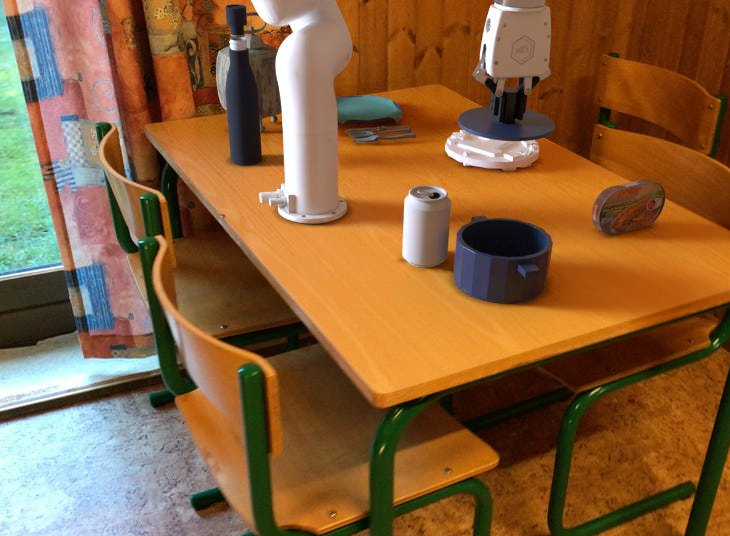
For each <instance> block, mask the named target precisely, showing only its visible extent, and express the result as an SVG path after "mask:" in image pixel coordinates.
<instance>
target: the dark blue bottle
mask: <svg viewBox="0 0 730 536" xmlns="http://www.w3.org/2000/svg"><path fill="white" fill-rule="evenodd" d="M224 9H225V22H226V23H225V24H226V26H228V27H229V28H230V38H229V42H228V43H229V47H231V48H230V49H229V58H230V66H229V70H228V74H227V78H226V88H225V95H226V107H227V111H226V119H227V131H228V142H229V151H230V152H229V156H230V162H231V163H233V164H234V165H237V166H243V167H247V166H249V167H250V166H254V165H258V164H260V163H261V162H262V161H263V153H262V152H263V151H262V137H261V135H262V133H261V132H260V117H259V100H258V88H257V83H256V80H255V76H254V74H253V71H252V68H251V66H250V63H249V50H248V48H246V47H247V44H246V43H247V41H246V38H244V37H245V36H246V34H245V33H244V30H245V26H247V25H248V16H247V14H246V13H247V6H246V5H245V4H238V3H237V4H235V3H234V4H233V3H231V4H228V5H226V6H225V7H224Z"/></svg>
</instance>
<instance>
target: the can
mask: <svg viewBox="0 0 730 536" xmlns="http://www.w3.org/2000/svg"><path fill="white" fill-rule="evenodd" d="M403 202H404V203H403V204H404V205H403V225H402V226H403V227H402V228H403V229H402V231H403V232H402V249H401V250H402V251H401V252H402V254H401V255H402V258H403V259H404V260H405V261H407V263H408V264H410V266H411V265H412V266H413V267H417V268H422V269H423V268H424V269H426V268H427V269H429V268H434V267H437V266H439V265H441V264H442V263H443V262H446V260H447V259H448V253H449V240H450V239H449V238H450V226H451V213H452V200H451V199H450V198H449V192H448V191H447V189H445V188H443V187H441V186H438V185H433V184H422V185H421V184H420V185H416V186H413V187H411V188H410V189H409V190H408V194H407V196H406V197H405V198H404V201H403Z"/></svg>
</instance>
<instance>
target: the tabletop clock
mask: <svg viewBox="0 0 730 536" xmlns="http://www.w3.org/2000/svg"><path fill="white" fill-rule="evenodd" d="M246 14H247V17H252V16H254V17H260V16H259V14H258V13H257V11H250V12H249V11H248V12H246ZM260 18H261V17H260ZM266 27H267V23H266V22H265V21H264V20H263V25H262V26H261V27H259V28H257V29H255V27H254V26H253V25H250V26H249V27H248V30H247V29H246V30H245V29H244V34H245V36H244V37H243V38H246V41H247V43H246V44H247V47H246V48H248V50H249V63H250V66H251V68H252V71H253V74H254V76H255V80H256V83H257V88H258V100H259V117H260V134H263V133H265V132H266V130H267V129H266V126H265V125H263V119H267V118H270V122H272V123H277V122H278V120H279V118H278V115H280V114H281V115H282V106H281V97H280V90H279V85H278V80H277V75H276V57H277V53H278V50H279V48H276V47H274V46H273V45H270V44H267V43H265V41H264V39H263V38H262V37H261V36H260V35H258V34H257V33H260V32H261V31H264V29H265V28H266ZM230 48H231V47H230V46H226V47H223V48H222V49H220V50H219V51H218V52H217V53H218V54H217V56H216V64H215V69H216V70H215V73H216V74H215V76H216V77H215V78H216V88H217V94H218V98H219V102H220V104H221V106H222V109H224V110H225V111H226V112H227V107H226V95H225V88H226V78H227V74H228V70H229V66H230V58H229V49H230Z"/></svg>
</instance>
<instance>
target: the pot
mask: <svg viewBox="0 0 730 536" xmlns="http://www.w3.org/2000/svg"><path fill="white" fill-rule="evenodd" d="M455 238H456V239H455V249H454V263H453V282H454V284H455V286H456V287H457V288H458V289H459V290H460V291H462V293H464V294H466V295H467V296H469V297H471V298H474V299H477V300H480V301H483V302H488V303H494V304H518V303H519V304H520V303H524V302H529V301H532V300H534V299H536V298H538V297H539V296H541V295H542V294H543V293H544V292H545V290H546V286H547V284H548V279H549V271H550V266H551V259H552V252H553V246H554V242H553V239H552V235H550V234H549V233H548V232H547V231H546V230H545V229H543V228H542V227H540V226H539V225H536V224H534V223H531V222H529V221H525V220H520V219H515V218H508V217H507V218H506V217H488V216H487V215H485V214H481V215H474V216H471V218H470V221H469V222H467V223H465V224H463V225H461V226H460V227H459V229H458V230H457V232H456V237H455Z"/></svg>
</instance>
